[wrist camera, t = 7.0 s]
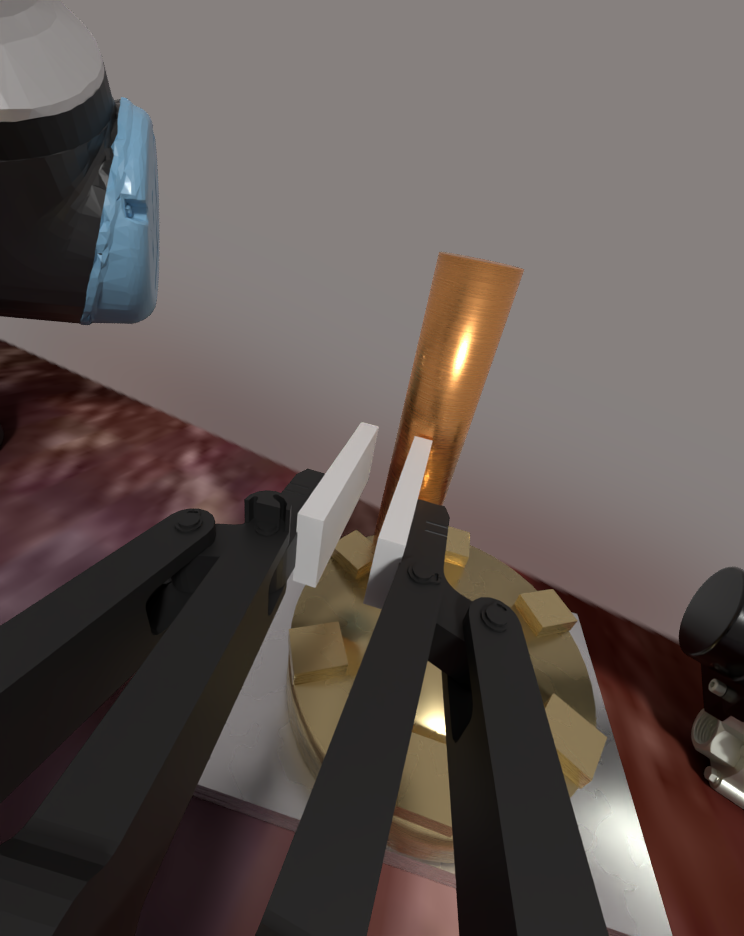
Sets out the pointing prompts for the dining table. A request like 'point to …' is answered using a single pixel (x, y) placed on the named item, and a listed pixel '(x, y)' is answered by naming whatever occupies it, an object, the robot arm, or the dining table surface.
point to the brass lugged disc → (465, 567)
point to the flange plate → (283, 802)
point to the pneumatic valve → (719, 677)
